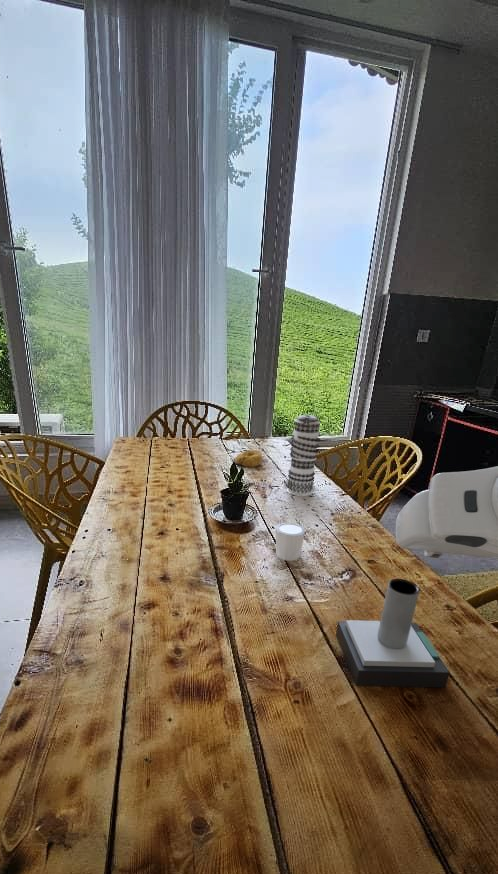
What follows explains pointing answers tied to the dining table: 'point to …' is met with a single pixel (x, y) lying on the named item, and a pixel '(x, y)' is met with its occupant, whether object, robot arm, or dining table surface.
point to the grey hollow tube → (397, 613)
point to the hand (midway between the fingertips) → (472, 556)
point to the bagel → (249, 458)
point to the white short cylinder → (289, 541)
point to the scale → (389, 657)
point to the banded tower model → (303, 455)
